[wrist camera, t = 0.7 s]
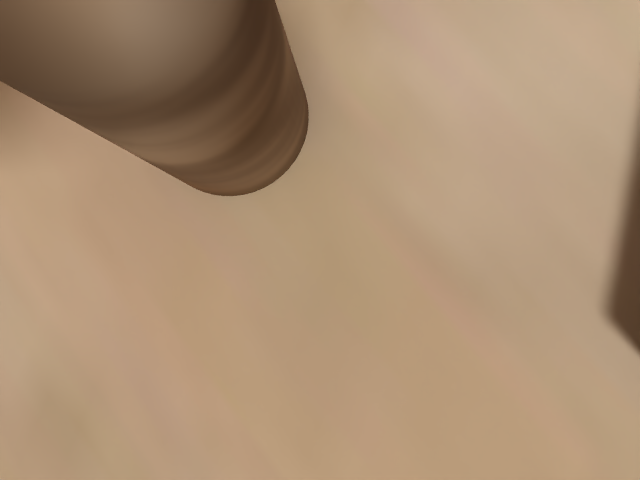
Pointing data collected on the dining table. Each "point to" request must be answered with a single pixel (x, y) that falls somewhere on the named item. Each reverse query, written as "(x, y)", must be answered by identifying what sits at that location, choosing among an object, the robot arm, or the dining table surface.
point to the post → (166, 82)
